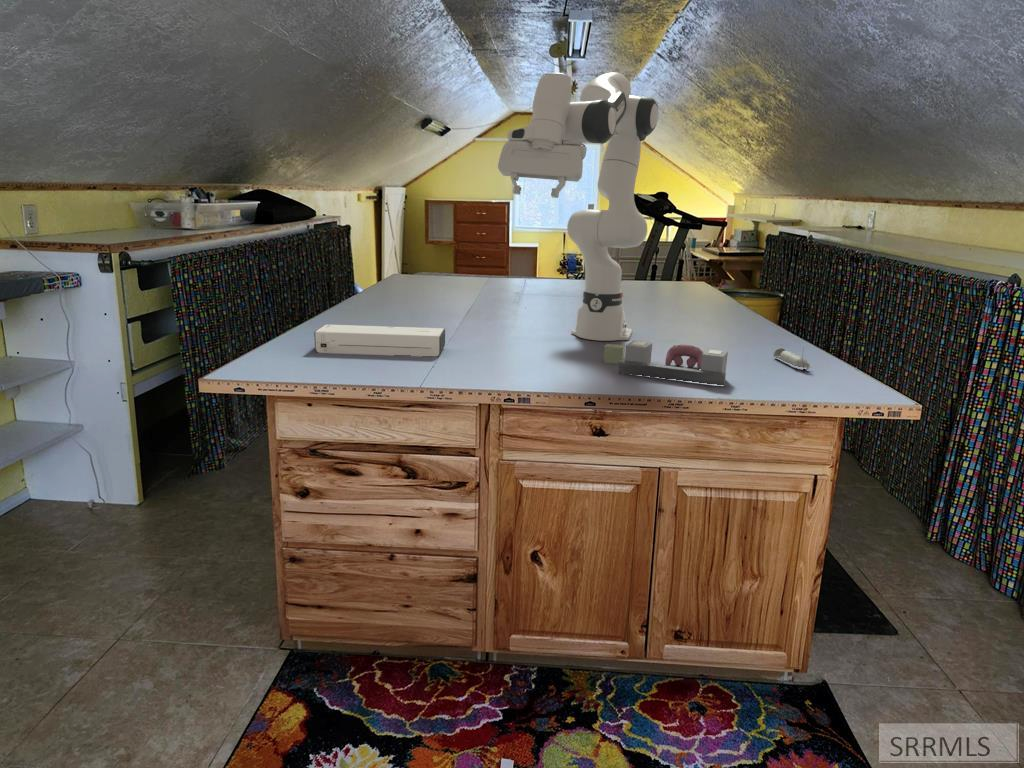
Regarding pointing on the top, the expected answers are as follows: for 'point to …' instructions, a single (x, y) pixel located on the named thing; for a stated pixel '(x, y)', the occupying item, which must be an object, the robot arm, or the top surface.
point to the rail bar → (671, 372)
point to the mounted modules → (710, 361)
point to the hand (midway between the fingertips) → (535, 195)
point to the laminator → (379, 340)
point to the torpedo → (791, 358)
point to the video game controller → (684, 350)
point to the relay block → (613, 353)
